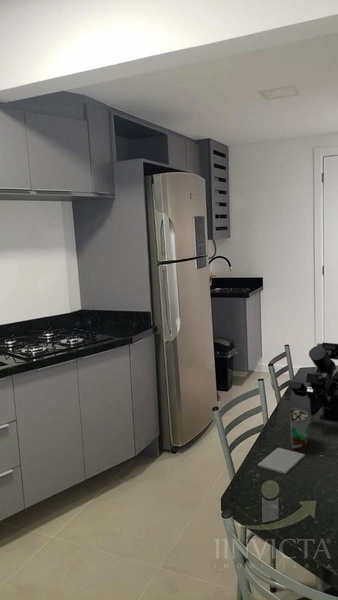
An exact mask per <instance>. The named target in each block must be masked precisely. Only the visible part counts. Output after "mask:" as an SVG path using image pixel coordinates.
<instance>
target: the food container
mask: <svg viewBox="0 0 338 600" xmlns="http://www.w3.org/2000/svg"><path fill="white" fill-rule="evenodd" d="M289 421H290V423H289V424H290V425H289V426H290V439H291V449H292V451H298V450H303V449H305V448H307V447H308V443H309V441H308V439H309V424H311V417H310V415H309V412H307V411H306V410H303V409H301V408H295V407H289Z"/></svg>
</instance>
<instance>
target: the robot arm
mask: <svg viewBox="0 0 338 600" xmlns="http://www.w3.org/2000/svg"><path fill="white" fill-rule="evenodd" d="M308 356H309V358H310V360H311V361H312V363H313V365H314V366H315V367H316V370H315V371H314V372H313V373H309V372H307V373H306V380H305V383H308V386H306V385H305V384H304V383H303V382H298V381H297V382H296V381H294V382H292V383H291V385H290V390H291V391H292V393H293V394H294V395H296V396H298V397H304V398H305V397H306V396H307V398H308V399H309V400H308V401H309V407H310V415H311V416H315V415H316V414H317V413H318V412H319V411H320V410H321V409H322V414H321V415H320V416H319V419H323V420H327V421H333V422H338V370H337V367H336V366H337V365H336V362H335V361H334V360H337V361H338V343H335V342H334V343H332V342H322V343H317V344H316V346H313V347H312V348H311V349H310V350H309V352H308ZM336 370H337V371H336ZM335 371H336V372H335Z"/></svg>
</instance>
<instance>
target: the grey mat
mask: <svg viewBox="0 0 338 600" xmlns="http://www.w3.org/2000/svg"><path fill="white" fill-rule="evenodd" d="M304 458H305V454H304V453H300V452H297V451H294V450H289V449H285V448H282V447H277V448H276V449H275V450H273V451H272V452H271V453H270V454H268V455H267V456H266V457H264V458H263V459H262V460H261V461H260V462H259V463H257V467H258V468H259V467H260V468H262V469H266V470H269V471H273V472H275V473H280V474H284V475H286V474H287V473H288V472H290V471H291V470H292V469H293V468H294V467H295V466H296V465H297V464H298V463H299V462H300V461H301V460H303V459H304Z"/></svg>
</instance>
